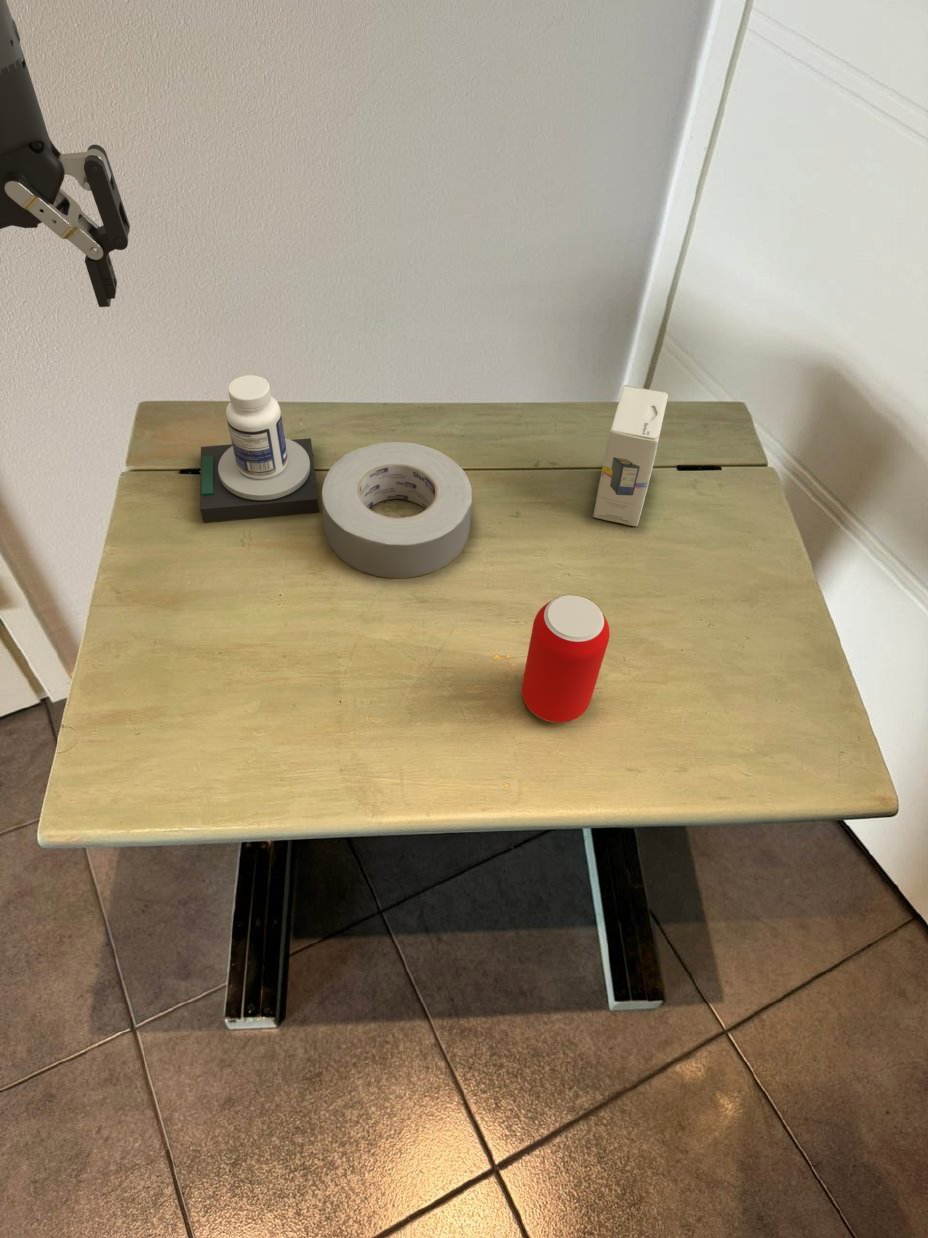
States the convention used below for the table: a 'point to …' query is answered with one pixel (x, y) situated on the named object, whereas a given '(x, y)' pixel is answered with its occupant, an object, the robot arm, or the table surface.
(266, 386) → the pill bottle
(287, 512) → the scale
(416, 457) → the tape roll
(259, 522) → the table surface
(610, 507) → the ink box
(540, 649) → the beverage can
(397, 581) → the table surface
